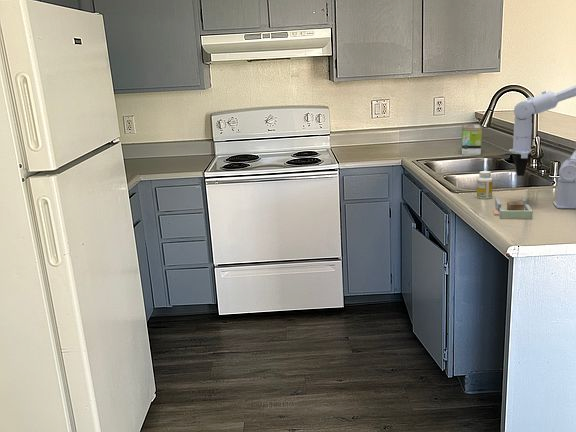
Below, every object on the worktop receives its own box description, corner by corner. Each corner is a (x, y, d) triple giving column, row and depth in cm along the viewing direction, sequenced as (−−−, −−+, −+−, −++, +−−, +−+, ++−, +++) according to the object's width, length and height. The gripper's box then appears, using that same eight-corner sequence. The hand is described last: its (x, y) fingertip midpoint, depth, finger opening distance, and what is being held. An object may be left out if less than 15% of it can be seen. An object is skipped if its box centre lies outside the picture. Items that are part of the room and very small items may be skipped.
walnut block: (521, 214, 185) (521, 201, 184) (523, 218, 181) (524, 204, 180) (506, 214, 186) (507, 201, 185) (508, 218, 182) (509, 204, 181)
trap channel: (528, 205, 195) (528, 198, 195) (537, 219, 179) (537, 211, 178) (490, 204, 199) (490, 197, 198) (495, 218, 182) (495, 211, 181)
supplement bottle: (488, 195, 212) (489, 170, 209) (494, 198, 207) (495, 172, 204) (474, 196, 212) (475, 170, 209) (479, 199, 207) (480, 173, 204)
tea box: (481, 155, 297) (482, 127, 293) (461, 155, 299) (462, 127, 296) (480, 150, 310) (481, 123, 307) (461, 150, 313) (461, 124, 309)
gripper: (507, 134, 201) (505, 171, 204) (512, 139, 187) (510, 179, 191) (528, 133, 199) (526, 171, 202) (535, 139, 185) (533, 179, 189)
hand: (520, 175), depth 196 cm, fingers closed
